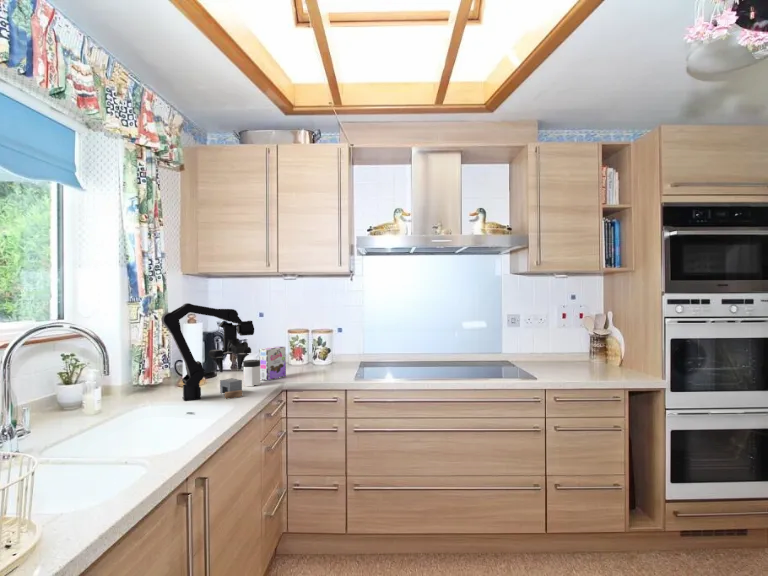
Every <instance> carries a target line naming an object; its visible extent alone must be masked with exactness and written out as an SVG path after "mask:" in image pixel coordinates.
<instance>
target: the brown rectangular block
mask: <svg viewBox="0 0 768 576" xmlns="http://www.w3.org/2000/svg"><path fill="white" fill-rule="evenodd" d="M240 396H242V397H243V390H242V391H241V390H238V391H230V392H225V394H224V399H225V398H226V399H225V400H228V399H227V398H230V399H235V398H234V397H237V398H241V397H240Z"/></svg>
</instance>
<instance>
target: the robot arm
mask: <svg viewBox="0 0 768 576" xmlns="http://www.w3.org/2000/svg"><path fill="white" fill-rule="evenodd" d="M188 314H197V315H203V316H209V317H214V318H217V319H220V320H223V321H222V322H220V324H219V325H218V327H219V328H223V338H222V339H221V341H222V342H223V347H222V349H211V350H209V352H208V357H209V358H211V359H213V360H214V362H215V364H216V366H217V368H218V370H219V373H223V371H224V368H223V367H224V366H223V363H224V361H223V360H224V359H225V357H224V355H225V356H226V355H231V354H234V355H236V360H237V369H238V370H241V369H242V366H243V361H245V358H247V356H250V354H251V353H252V348H251V347H250V346H249V343H248V342H247V341H244V342H243V341H242V342H240V339H239V338H238V335H239V336H241V337H243V336H253V335H254V334H255V327H254V323H253V320H244V321H242V319H241V318H240V317H239V313H238V310H236V309H234V308H213V307H209V306H208V307H207V306H203V305H197V304H192V303H184V304H182V305H181V306H179V307H178V308H175V309H174V310H172V311H171V312H170V311H169V312H165V313H163V314H162V316H161V323H162V324H163V326H164V327H165V328H166V329H167V331H168V332H169V333H170V335H171V337H172V339H173V340H174V342H175V345H176V346H177V349H178V351H179V353H180V355H181V357H182V359H183V361H184V365H185V371H186V375H184V377H183V378H181V380H182V383H183V385H182V400H183V401H185V402H186V401H194V400H200V399H201V397H202V388H201V386H200V383H201V381H203V379H204V377H205V371H206V370H205V369H204V367H203V364H202V362H201V361H198V360H195V357H194V356H193V353H192V351H191V349H190V347H189V345H188V343H187V341H186V339H185V336H184V335H183V332H182V330H181V329H182V328H181V323H180V320H181V319H183V318H184V317H185V316H186V315H188Z"/></svg>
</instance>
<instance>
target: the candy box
mask: <svg viewBox="0 0 768 576" xmlns="http://www.w3.org/2000/svg"><path fill="white" fill-rule="evenodd" d="M258 349H259V350H258V351H259V353H258V354H259V356H258V357H259V359H258V360H260V379H262V380H261V381H265V380H269V381H271V380H270V379H273V380H276V379H275V378H277V379H280V378H279V377H282V378H284V377H283V376H286V377H287V370H286V369H287V368H286V367H287V365H286V364H287V363H286V361H287V360H286V359H287V358H286V357H287V356H286V355H287V354H286V346H279V345H277V346H272V347H271V346H270V347H263V348H258Z"/></svg>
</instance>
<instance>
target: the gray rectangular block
mask: <svg viewBox="0 0 768 576" xmlns="http://www.w3.org/2000/svg"><path fill="white" fill-rule="evenodd" d="M219 388H220V391H219V392H220V393H225V392H230V391H238V390H241V391H242V392H243V380H242V379H237V378H234V377H233V378H225V379H221V380H219Z"/></svg>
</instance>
